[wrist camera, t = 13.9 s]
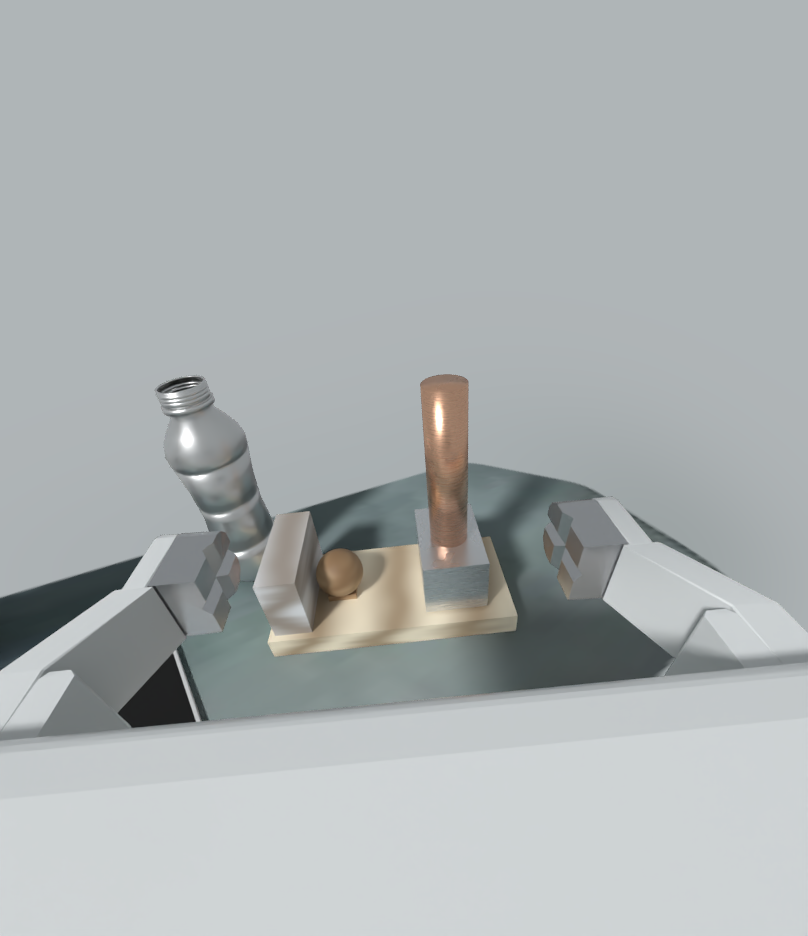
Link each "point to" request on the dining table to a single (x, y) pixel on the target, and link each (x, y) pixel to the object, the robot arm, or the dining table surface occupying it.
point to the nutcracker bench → (362, 597)
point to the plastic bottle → (215, 468)
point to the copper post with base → (449, 503)
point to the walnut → (339, 574)
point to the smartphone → (163, 698)
